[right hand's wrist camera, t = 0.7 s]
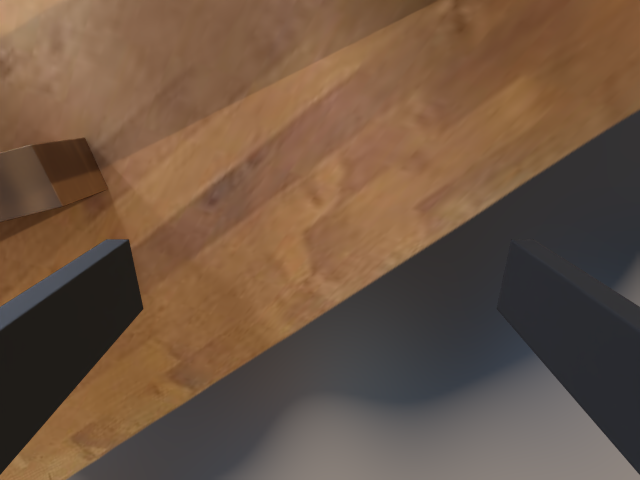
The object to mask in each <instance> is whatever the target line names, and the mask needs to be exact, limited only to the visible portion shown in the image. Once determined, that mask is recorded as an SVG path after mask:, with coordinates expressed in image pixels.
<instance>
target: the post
mask: <svg viewBox="0 0 640 480" xmlns="http://www.w3.org/2000/svg"><path fill="white" fill-rule="evenodd" d="M107 189H108V188H107V186H106V183H105V181H104V179H103V177H102V175H101V172H100V170H99V168H98V166H97V164H96V162H95V159H94V157H93V155H92V153H91V151H90V148H89V146H88V144H87V142H86V140H85V138H78V139H71V140H63V141H55V142H47V143H39V144H32V145H27V146H24V147H20V148H16V149H12V150H9V151H5V152H1V153H0V222H2V221H6V220H11V219H15V218H19V217H23V216H27V215H31V214H35V213H39V212H43V211H47V210H51V209H55V208H59V207H63V206H65V205H68V204H71V203H73V202H76V201H78V200H81V199H84V198H86V197H89V196H91V195H94V194H97V193H99V192H102V191H104V190H107Z"/></svg>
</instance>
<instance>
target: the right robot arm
mask: <svg viewBox="0 0 640 480" xmlns="http://www.w3.org/2000/svg"><path fill="white" fill-rule="evenodd" d="M142 310H143V305H142V300H141V295H140V291H139V286H138V281H137V276H136V272H135V267H134V262H133V257H132V252H131V248H130V243H129V240H105V241H103V242H102V243H100V244H99V245H97V246H95V247H94V248H92V249H91V250H89V251H88V252H86V253H84V254H83V255H81V256H80V257H78V258H77V259H75V260H73V261H72V262H70V263H69V264H67V265H66V266H64V267H62V268H61V269H59V270H58V271H56V272H55V273H53V274H51V275H50V276H48V277H47V278H45V279H43V280H42V281H40V282H39V283H37V284H36V285H34V286H32V287H31V288H29V289H28V290H26V291H25V292H23V293H21V294H20V295H18V296H17V297H15V298H14V299H12V300H10V301H9V302H7V303H6V304H4V305H3V306H1V307H0V474H1V473H2V472H3V471H4V470H5V469H6V467H7V466H8V465H9V464H10V463H11V462H12V460H13V459H14V458H15V457H16V456H17V455H18V454H19V452H20V451H21V450H22V449H23V448H24V447H25V445H26V444H27V443H28V442H29V441H30V440H31V438H32V437H33V436H34V435H35V434H36V433H37V432H38V430H39V429H40V428H41V427H42V426H43V425H44V423H45V422H46V421H47V420H48V419H49V418H50V416H51V415H52V414H53V413H54V412H55V411H56V409H57V408H58V407H59V406H60V405H61V404H62V403H63V401H64V400H65V399H66V398H67V397H68V396H69V394H70V393H71V392H72V391H73V390H74V389H75V387H76V386H77V385H78V384H79V383H80V382H81V380H82V379H83V378H84V377H85V376H86V375H87V374H88V372H89V371H90V370H91V369H92V368H93V367H94V365H95V364H96V363H97V362H98V361H99V360H100V358H101V357H102V356H103V355H104V354H105V353H106V351H107V350H108V349H109V348H110V347H111V346H112V345H113V343H114V342H115V341H116V340H117V339H118V338H119V336H120V335H121V334H122V333H123V332H124V331H125V329H126V328H127V327H128V326H129V325H130V324H131V323H132V321H133V320H134V319H135V318H136V317H137V316H138V314H139V313H140V312H141V311H142ZM497 310H498V311H499V312H500V313H501V314H502V316H503V317H504V318H505V319H506V320H507V321H508V322H509V324H510V325H511V326H512V327H513V328H514V329H515V331H516V332H517V333H518V334H519V335H520V336H521V338H522V339H523V340H524V341H525V342H526V343H527V345H528V346H529V347H530V348H531V349H532V350H533V351H534V353H535V354H536V355H537V356H538V357H539V358H540V360H541V361H542V362H543V363H544V364H545V365H546V367H547V368H548V369H549V370H550V371H551V372H552V374H553V375H554V376H555V377H556V378H557V379H558V380H559V382H560V383H561V384H562V385H563V386H564V387H565V389H566V390H567V391H568V392H569V393H570V394H571V396H572V397H573V398H574V399H575V400H576V401H577V403H578V404H579V405H580V406H581V407H582V408H583V409H584V411H585V412H586V413H587V414H588V415H589V416H590V418H591V419H592V420H593V421H594V422H595V423H596V425H597V426H598V427H599V428H600V429H601V430H602V432H603V433H604V434H605V435H606V436H607V437H608V438H609V440H610V441H611V442H612V443H613V444H614V445H615V447H616V448H617V449H618V450H619V451H620V452H621V454H622V455H623V456H624V457H625V458H626V459H627V460H628V462H629V463H630V464H631V465H632V466H633V467H634V469H635V470H636V471H637V472H638V473H639V474H640V307H639V306H637V305H636V304H634V303H633V302H631V301H630V300H628V299H626V298H625V297H623V296H622V295H620V294H618V293H617V292H615V291H614V290H612V289H611V288H609V287H607V286H606V285H604V284H603V283H601V282H600V281H598V280H597V279H595V278H593V277H592V276H590V275H589V274H587V273H585V272H584V271H582V270H581V269H579V268H578V267H576V266H574V265H573V264H571V263H570V262H568V261H567V260H565V259H563V258H562V257H560V256H559V255H557V254H556V253H554V252H552V251H551V250H549V249H548V248H546V247H545V246H543V245H541V244H540V243H538V242H537V241H535V240H511V243H510V248H509V252H508V257H507V262H506V267H505V272H504V276H503V281H502V286H501V291H500V295H499V300H498V305H497Z"/></svg>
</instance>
